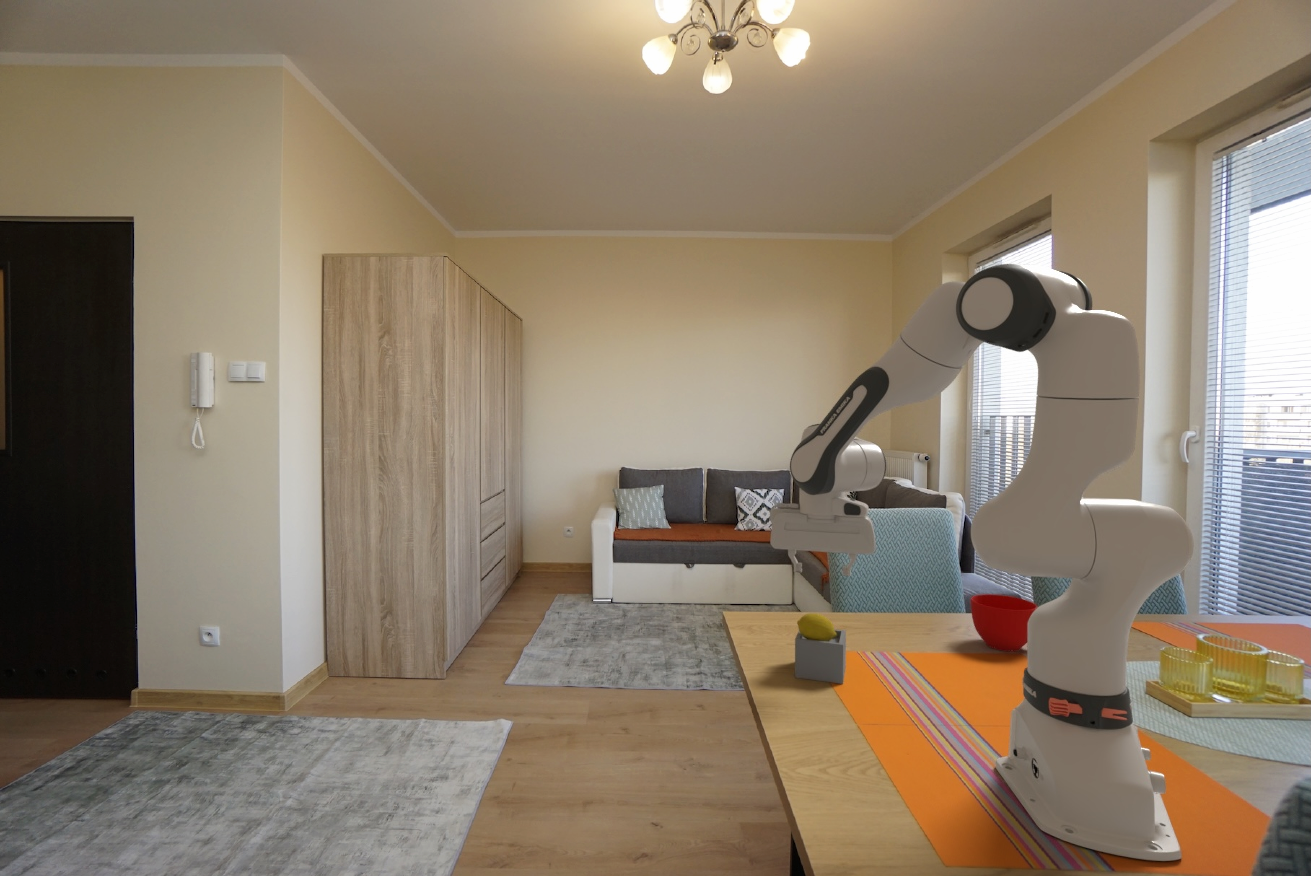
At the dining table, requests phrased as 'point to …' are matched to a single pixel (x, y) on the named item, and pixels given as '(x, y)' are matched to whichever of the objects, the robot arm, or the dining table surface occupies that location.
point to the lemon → (816, 627)
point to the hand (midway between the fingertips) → (821, 573)
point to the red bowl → (1002, 620)
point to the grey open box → (821, 658)
